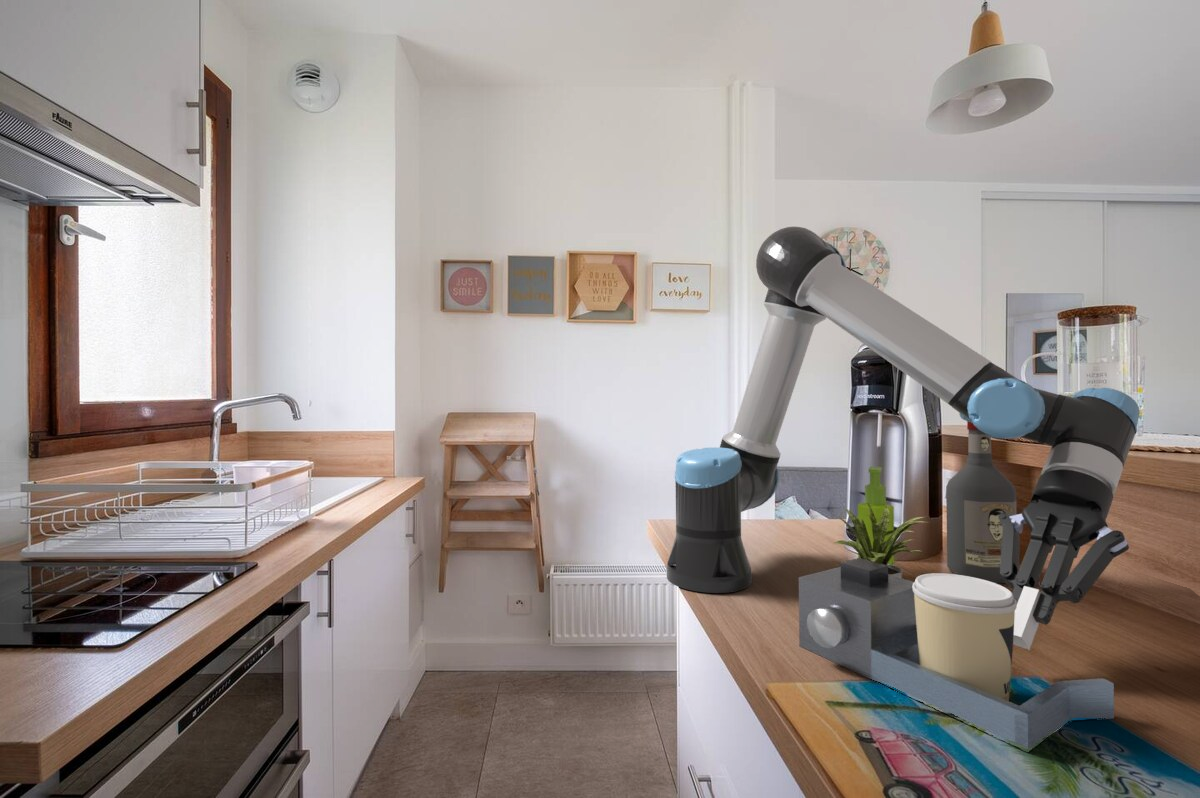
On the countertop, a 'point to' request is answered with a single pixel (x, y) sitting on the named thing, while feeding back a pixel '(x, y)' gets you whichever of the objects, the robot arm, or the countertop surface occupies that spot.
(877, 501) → the soap dispenser
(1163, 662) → the countertop surface
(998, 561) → the liquor
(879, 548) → the house plant
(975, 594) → the coffee cup
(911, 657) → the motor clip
